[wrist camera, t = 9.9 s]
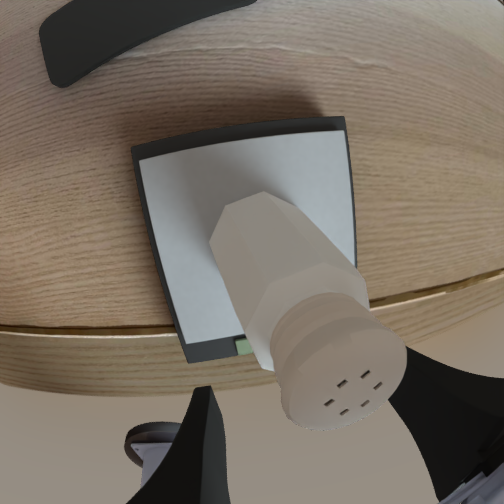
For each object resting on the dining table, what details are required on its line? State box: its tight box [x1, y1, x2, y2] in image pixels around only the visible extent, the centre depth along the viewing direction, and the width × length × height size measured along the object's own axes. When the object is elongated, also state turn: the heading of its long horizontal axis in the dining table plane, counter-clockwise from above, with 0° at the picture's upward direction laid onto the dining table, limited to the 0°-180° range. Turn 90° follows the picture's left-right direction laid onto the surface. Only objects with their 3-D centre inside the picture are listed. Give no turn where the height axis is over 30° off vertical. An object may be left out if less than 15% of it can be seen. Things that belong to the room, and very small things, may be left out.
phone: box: [39, 0, 257, 88], centre depth 11 cm, size 7×1×15 cm
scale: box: [131, 116, 357, 363], centre depth 17 cm, size 14×12×3 cm
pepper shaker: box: [209, 191, 407, 431], centre depth 10 cm, size 5×5×11 cm
